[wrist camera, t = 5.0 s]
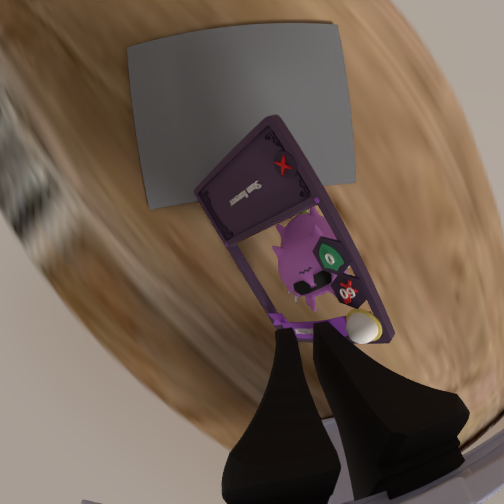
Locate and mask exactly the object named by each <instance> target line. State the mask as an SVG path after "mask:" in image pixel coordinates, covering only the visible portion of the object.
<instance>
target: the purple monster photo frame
mask: <svg viewBox="0 0 504 504" xmlns="http://www.w3.org/2000/svg"><path fill="white" fill-rule="evenodd" d="M194 194H195V196H196V197H197V199H198V201H199V203H200V204H201V206H202V208H203V209H204V211H205V213H206V214H207V216H208V218H209V219H210V221H211V223H212V225H213V226H214V228H215V230H216V231H217V233H218V235H219V236H220V238H221V240H222V241H223V243H224V245H225V246H226V248H227V250H228V251H229V253H230V254H231V256H232V258H233V259H234V261H235V263H236V264H237V266H238V268H239V269H240V271H241V273H242V274H243V276H244V278H245V279H246V281H247V282H248V284H249V286H250V287H251V289H252V291H253V292H254V294H255V296H256V297H257V299H258V300H259V302H260V304H261V305H262V307H263V308H264V310H265V312H266V313H267V315H268V317H269V318H270V320H271V321H272V323H273V325H274V326H275V328H276V329H284V328H290V327H292V328H293V330H294V332H295V335H296V337H297V341H298V342H313V323H319V322H324V321H328V322H329V323H330V324H332V325H333V326H334V327H335V328H336V329H337V330H338V331H339V332H340V333H341V334H342V335H343V336H345V337H346V338H347V339H348V340H349V341H350V342H351V343H359V344H376V343H390V341H391V340H392V338H393V336H394V335H395V331H394V329H393V327H392V324H391V322H390V319H389V317H388V315H387V312H386V310H385V308H384V305H383V303H382V301H381V299H380V296H379V294H378V292H377V290H376V288H375V285H374V283H373V281H372V279H371V277H370V275H369V273H368V271H367V268H366V266H365V264H364V262H363V260H362V258H361V256H360V254H359V252H358V250H357V248H356V246H355V244H354V242H353V240H352V238H351V236H350V234H349V232H348V230H347V229H346V227H345V225H344V223H343V221H342V219H341V217H340V215H339V214H338V212H337V210H336V208H335V206H334V204H333V203H332V201H331V199H330V197H329V195H328V194H327V192H326V190H325V188H324V187H323V185H322V183H321V181H320V180H319V178H318V176H317V175H316V173H315V171H314V169H313V168H312V166H311V164H310V163H309V161H308V159H307V158H306V156H305V155H304V153H303V151H302V150H301V148H300V146H299V145H298V143H297V142H296V140H295V139H294V137H293V135H292V134H291V132H290V131H289V129H288V128H287V126H286V125H285V123H284V121H283V120H282V118H281V117H280V116H279V115H276V114H275V115H271V116H267V117H265V118H264V119H263V120H262V121H261V122H260V123H259V124H258V125H257V126H256V127H255V128H254V129H253V130H251V131H250V132H249V133H248V134H247V135H246V136H245V137H244V138H243V139H242V140H241V141H240V142H239V143H238V144H237V145H236V146H235V147H234V148H233V149H232V150H231V151H230V152H229V153H228V154H227V155H226V156H225V157H224V158H223V159H222V160H221V162H220V163H219V164H218V165H217V166H216V167H215V168H214V169H213V170H212V171H211V172H210V173H209V174H208V175H207V176H206V177H205V178H204V179H203V180H202V182H201V183H200V184H199V185H198V186H197V187H196V188H195V189H194ZM315 205H318V206H319V208H320V210H321V211H322V213H323V215H324V217H325V218H324V217H322V216H320V215H319V214H318V212H317V211H316V209H315V207H314V206H315ZM309 208H310V213H308V210H307V209H309ZM298 213H299V215H298V216H296V217H295V218H293V219H292V220H291V221H290V222H289V223H288V224H287V226H286V227H283V226H281V225H279V224H277V223H279V222H282V221H284V220H286V219H288V218H290V217H292V216H294V215H296V214H298ZM275 224H277V225H276V227H277V230H278V231H279V233H280V235H281V246H280V248H279V247H276V246H273V247H272V248H273V250H274V252H275V253H276V255H277V257H278V269H279V274H280V277H281V279H282V281H283V283H284V284H285V285H286V286H287V288H288V294H289V295H290V293H291V292H293V293H294V295H295V303H297V299H298V297H301V296H306V301H307V304H308V306H311V308H312V310H314V311H316V304H315V297H316V296H318V295H322V294H325V293H327V292H329V291H330V292H331V293H333V294H334V295H335V296H336V297H337V299H338V300H339V302H340V303H343V304H346V305H348V306H351V307H353V308H356V309H353V310H351V311H349V312H348V314H347V316H343V317H338V318H333V319H329V320H323V321H313V322H287V320H286V318H285V317H284V315H283V314H281V313H278V312H277V310H276V309H275V307H274V305H273V304H272V302H271V300H270V299H269V297H268V296H267V294H266V292H265V291H264V289H263V287H262V286H261V284H260V282H259V281H258V279H257V277H256V276H255V274H254V272H253V271H252V269H251V267H250V266H249V264H248V262H247V261H246V259H245V257H244V256H243V254H242V252H241V251H240V249H239V247H238V246H237V243H238V242H240V241H242V240H244V239H246V238H248V237H250V236H252V235H254V234H257V233H259V232H261V231H263V230H265V229H267V228H269V227H271V226H273V225H275ZM349 265H350V266H351V268H352V270H353V272H354V274H355V276H356V277H355V276H352V275H350V274H349V273H348V272H347V271H346V269H347V268H350V267H349ZM366 300H367V301H368V303H369V305H370V307H371V310H372V312H373V314H374V315H373V314H372V313H371V312H368V311H366V310H363V309H358V308H359V307H360V306H361V305H362V304H363V303H364V302H365V301H366Z"/></svg>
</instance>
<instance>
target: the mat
mask: <svg viewBox="0 0 504 504" xmlns="http://www.w3.org/2000/svg"><path fill="white" fill-rule="evenodd" d="M127 56H128V69H129V80H130V90H131V99H132V107H133V115H134V123H135V130H136V137H137V144H138V150H139V156H140V162H141V168H142V173H143V179H144V184H145V189H146V195H147V200H148V204H149V209H150V210H151V209H156V208H162V207H168V206H174V205H179V204H185V203H192V202H198V199H197V197H196V196H195V194H194V189H195V188H196V187H197V186H198V185H199V184H200V183H201V182H202V180H203V179H204V178H205V177H206V176H207V175H208V174H209V173H210V172H211V171H212V170H213V169H214V168H215V167H216V166H217V165H218V164H219V163H220V162H221V160H222V159H223V158H224V157H225V156H226V155H227V154H228V153H229V152H230V151H231V150H232V149H233V148H234V147H235V146H236V145H237V144H238V143H239V142H240V141H241V140H242V139H243V138H244V137H245V136H246V135H247V134H248V133H249V132H250V131H251V130H253V129H254V128H255V127H256V126H257V125H258V124H259V123H260V122H261V121H262V120H263V119H264V118H265V117H267V116H271V115H275V114H276V115H279V116H280V117H281V118H282V120H283V121H284V123H285V125H286V126H287V128H288V129H289V131H290V132H291V134H292V135H293V137H294V139H295V140H296V142H297V143H298V145H299V146H300V148H301V150H302V151H303V153H304V155H305V156H306V158H307V159H308V161H309V163H310V164H311V166H312V168H313V169H314V171H315V173H316V175H317V176H318V178H319V180H320V181H321V183H322V185H323V186H325V185H336V184H348V183H356V169H355V153H354V139H353V127H352V117H351V108H350V99H349V91H348V83H347V76H346V70H345V63H344V57H343V51H342V45H341V40H340V35H339V30H338V25H334V24H318V23H268V24H251V25H239V26H229V27H221V28H213V29H207V30H200V31H194V32H189V33H183V34H178V35H174V36H169V37H165V38H160V39H156V40H152V41H148V42H144V43H141V44H137V45H134V46H130V47H127Z"/></svg>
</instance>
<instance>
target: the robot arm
mask: <svg viewBox="0 0 504 504" xmlns="http://www.w3.org/2000/svg"><path fill="white" fill-rule="evenodd" d="M275 338H276V350H275V357H274V362H273V367H272V371H271V375H270V378H269V382H268V385H267V388H266V391H265V393H264V396H263V398H262V401H261V403H260V405H259V407H258V409H257V412H256V413H255V415H254V417H253V419H252V421H251V423H250V424H249V426H248V428H247V429H246V431H245V433H244V434H243V436H242V437H241V439H240V440H239V441H238V443H237V444H236V445H235V447H234V448H233V449H232V451H231V452H230V453H229V456H228V459H227V462H226V465H225V468H224V472H223V477H222V497H223V499H224V500H225V502H226V503H227V504H481V503H482V502H484V501H485V500H487V499H488V498H489V497H491V496H492V495H494V494H495V493H496V492H498V491H499V490H500V489H502V488H503V487H504V429H503V430H501V431H500V432H498V433H497V434H495V435H494V436H493V437H491V438H490V439H488V440H487V441H485V442H484V443H482V444H480V445H479V446H477V447H476V448H474V449H472V450H471V451H469V452H467V453H466V454H464V455H462V454H461V452H460V450H459V448H458V446H459V445H460V441H459V440H458V438H457V436H458V434H459V433H460V431H461V430H462V429H463V427H464V426H465V424H466V422H467V421H468V419H469V414H470V412H469V410H468V409H467V407H466V406H465V404H464V403H463V401H462V400H461V398H460V397H459V396H458V395H457V394H454V393H450V392H446V391H442V390H438V389H434V388H431V387H428V386H425V385H422V384H419V383H417V382H414V381H412V380H410V379H407V378H405V377H403V376H401V375H399V374H397V373H395V372H393V371H391V370H389V369H388V368H386V367H384V366H383V365H381V364H379V363H378V362H376V361H375V360H373V359H372V358H371V357H369V356H368V355H366V354H365V353H364V352H362V351H361V350H360V349H359V348H357V347H356V346H355V345H354V344H353V343H351V342H350V341H349V340H348V339H347V338H346V337H345V336H343V335H342V334H341V333H340V332H339V331H338V330H337V329H336V328H335V327H334V326H333V325H332V324H330V323H329V322H328V321H324V322H319V323H313V360H314V364H315V368H316V371H317V375H318V379H319V381H320V384H321V386H322V389H323V391H324V393H325V396H326V398H327V401H328V403H329V406H330V408H331V410H332V413H333V415H334V417H333V418H329V419H324V420H321V418H320V415H319V413H318V411H317V409H316V406H315V403H314V401H313V398H312V396H311V393H310V390H309V388H308V385H307V382H306V379H305V376H304V372H303V368H302V362H301V357H300V352H299V347H298V341H297V337H296V335H295V332H294V330H293V328H292V327H290V328H284V329H277V330H276V331H275ZM81 504H100V503H95V502H92V501H88V500H82V502H81Z"/></svg>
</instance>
